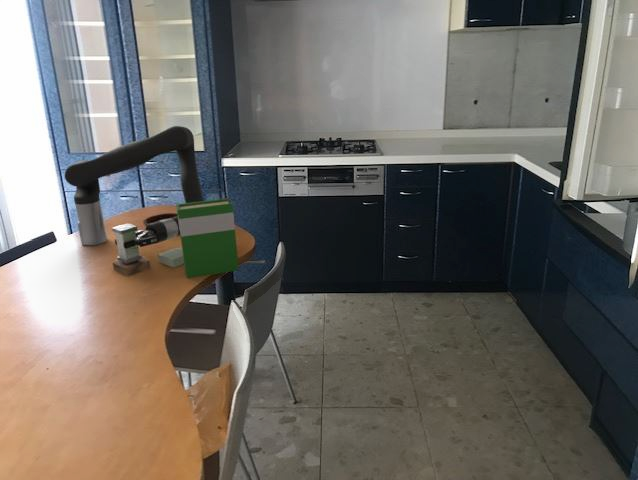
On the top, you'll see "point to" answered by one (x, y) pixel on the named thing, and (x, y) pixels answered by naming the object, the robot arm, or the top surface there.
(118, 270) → the walnut stand
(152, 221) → the dish
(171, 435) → the top surface
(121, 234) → the grey square pedestal
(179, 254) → the green stand
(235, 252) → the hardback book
